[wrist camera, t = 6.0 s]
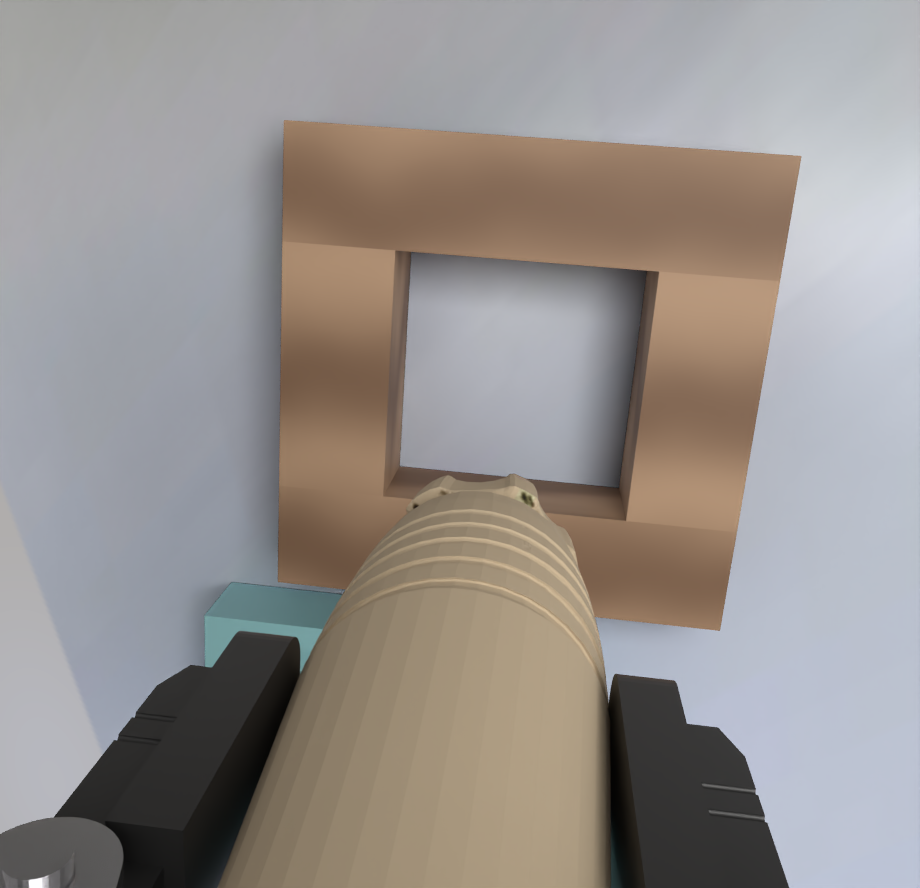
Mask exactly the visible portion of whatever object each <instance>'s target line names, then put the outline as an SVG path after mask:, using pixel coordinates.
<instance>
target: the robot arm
mask: <svg viewBox="0 0 920 888" xmlns="http://www.w3.org/2000/svg"><path fill="white" fill-rule="evenodd" d="M300 658H301V657H300V643H299V640H298V638H297V637H292V636H283V635H275V634H266V633H257V632H248V631H238V632H237V633H236V634H235V635H234V637H233V638H232V639H231V641H230V642H229V644H228V645H227V647H226V648H225V650H224V651H223V652H222V654H221V655H220V657H219V658H218V660H217V661H216V662H215V664H214V665H213V667H203V666H195V665H190V666H188V667H187V668H185V669H183V670H182V671H180V672H179V673H177V674H175V675H174V676H172V677H170V678H169V679H167V680H165V681H164V682H162V683H161V684H159V685H157V686H156V687H155V689H154V690H153V691H152V693H151V694H150V695H149V696H148V698H147V699H146V700H145V702H144V703H143V704H142V705H141V707H140V708H139V709H138V710H137V712H136V716H135V718H131V719H130V721H129V722H128V723H127V725H126V726H125V727H124V728H123V730H122V731H121V732H120V733H119V737H118V740H117V741H116V740H114V741H113V742H112V744H111V745H110V746H109V747H108V749H107V750H106V751H105V753H104V754H103V755H102V756H101V758H100V759H99V760H98V762H97V763H96V764H95V766H94V767H93V768H92V769H91V771H90V772H89V773H88V774H87V776H86V777H85V778H84V779H83V781H82V782H81V783H80V785H79V786H78V787H77V789H76V790H75V791H74V792H73V794H72V795H71V796H70V797H69V799H68V800H67V801H66V803H65V804H64V805H63V806H62V808H61V809H60V810H59V811H58V813H57V814H56V815H55V817H54V818H46V819H42V820H37V821H32V822H29V823H26V824H23V825H20V826H17V827H15V828H12V829H10V830H8V831H5V832H3V833H2V834H0V888H217V887H218V885H219V882H220V880H221V877H222V874H223V872H224V869H225V867H226V864H227V861H228V859H229V856H230V854H231V851H232V849H233V846H234V843H235V841H236V838H237V836H238V833H239V830H240V828H241V825H242V823H243V820H244V817H245V815H246V812H247V810H248V807H249V804H250V802H251V799H252V797H253V794H254V792H255V789H256V786H257V784H258V781H259V779H260V776H261V773H262V771H263V768H264V766H265V763H266V760H267V758H268V755H269V753H270V750H271V748H272V745H273V742H274V740H275V737H276V735H277V732H278V729H279V727H280V724H281V722H282V719H283V716H284V714H285V711H286V709H287V706H288V703H289V701H290V698H291V696H292V693H293V691H294V688H295V685H296V683H297V680H298V678H299V676H300ZM608 712H609V717H610V754H611V888H789V886H788V883H787V880H786V877H785V874H784V871H783V868H782V865H781V862H780V859H779V856H778V853H777V850H776V848H775V845H774V842H773V839H772V836H771V833H770V830H769V827H768V824H767V823H766V822H765V820H764V818H765V815H764V812H763V809H762V806H761V803H760V800H759V797H758V795H756V794H755V790H756V788H755V785H754V782H753V779H752V776H751V773H750V770H749V767H748V764H747V762H746V759H745V756H744V755H743V754H742V753H741V752H740V751H739V750H738V749H737V748H736V747H735V745H734V744H733V743H732V742H731V741H730V740H729V739H728V738H727V737H726V736H725V735H724V734H723V732H722V731H721V730H720V729H719V728H717V727H709V726H700V725H692V724H687V723H686V719H685V715H684V711H683V707H682V703H681V699H680V695H679V691H678V687H677V684H676V682H675V681H673V680H664V679H655V678H647V677H638V676H629V675H620V674H615V675H614V677H613V681H612V685H611V691H610V698H609V707H608Z"/></svg>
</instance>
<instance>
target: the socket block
mask: <svg viewBox="0 0 920 888" xmlns="http://www.w3.org/2000/svg"><path fill="white" fill-rule="evenodd" d="M800 161H801V156H793V155H778V154H764V153H750V152H735V151H721V150H706V149H692V148H678V147H663V146H649V145H634V144H620V143H606V142H591V141H577V140H562V139H548V138H534V137H519V136H505V135H490V134H476V133H462V132H447V131H433V130H418V129H404V128H390V127H375V126H361V125H346V124H332V123H318V122H303V121H289V120H284V149H283V226H282V302H281V379H280V455H279V532H278V582H283V583H292V584H301V585H310V586H319V587H328V588H337V589H347V587H348V586H349V584H350V583H351V581H352V580H353V578H354V577H355V575H356V574H357V572H358V571H359V569H360V568H361V566H362V565H363V563H364V562H365V560H366V559H367V557H368V556H369V554H370V553H371V552H372V551H373V549H374V548H375V547H376V546H377V544H378V543H379V542H380V541H381V539H382V538H383V537H384V536H385V535H386V534H387V533H388V532H389V531H390V530H391V529H392V528H393V527H394V526H395V525H396V524H397V523H398V522H399V521H400V520H401V519H402V518H403V517H404V516H405V515H407V511H406V508H407V506H408V505H409V504H410V502H411V501H412V500H413V498H414V497H415V496H416V494H417V493H418V492H419V491H420V490H422V489H423V488H424V487H425V486H427V485H428V484H429V483H431V482H432V481H434V480H436V479H438V478H440V477H443V476H447V475H449V476H452V477H453V478H454V479H456V480H460V481H465V482H488V481H495V480H498V479H502V478H505V477H502V476H492V475H481V474H471V473H461V472H451V471H441V470H431V469H421V468H411V467H401V466H400V450H401V431H402V412H403V394H404V375H405V357H406V338H407V319H408V301H409V282H410V264H411V252H421V253H433V254H446V255H458V256H471V257H483V258H496V259H508V260H521V261H533V262H546V263H558V264H571V265H583V266H596V267H608V268H621V269H633V270H646V271H647V274H646V282H645V290H644V298H643V305H642V313H641V321H640V329H639V336H638V344H637V352H636V360H635V367H634V375H633V383H632V391H631V398H630V406H629V414H628V422H627V429H626V437H625V445H624V453H623V460H622V468H621V476H620V484H619V488H613V487H603V486H593V485H582V484H572V483H562V482H552V481H542V480H532V479H526V480H528V481H529V482H531V483H533V485H534V486H535V488H536V491H537V494H538V501H539V503H540V505H541V508H542V509H543V511H544V512H545V514H546V515H547V516H548V517H549V519H550V520H551V521H552V522H554V523H555V524H556V525H557V526H560V527H562V528H564V529H565V530H566V531H567V533H568V534H569V536H570V538H571V540H572V543H573V546H574V549H575V553H576V558H577V562H578V568H579V571H580V573H581V576H582V579H583V581H584V584H585V586H586V589H587V591H588V594H589V598H590V601H591V605H592V609H593V612H594V617H600V618H609V619H618V620H627V621H637V622H646V623H655V624H664V625H673V626H682V627H691V628H700V629H709V630H718V631H720V627H721V621H722V615H723V609H724V604H725V598H726V592H727V586H728V580H729V574H730V569H731V563H732V557H733V551H734V545H735V540H736V534H737V528H738V522H739V516H740V510H741V505H742V499H743V493H744V487H745V481H746V476H747V470H748V464H749V458H750V452H751V446H752V441H753V435H754V429H755V423H756V417H757V412H758V406H759V400H760V394H761V388H762V382H763V377H764V371H765V365H766V359H767V353H768V348H769V342H770V336H771V330H772V324H773V318H774V313H775V307H776V301H777V295H778V289H779V284H780V278H781V272H782V266H783V260H784V254H785V249H786V243H787V237H788V231H789V225H790V220H791V214H792V208H793V202H794V196H795V190H796V185H797V179H798V173H799V167H800Z"/></svg>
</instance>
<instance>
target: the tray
mask: <svg viewBox="0 0 920 888" xmlns="http://www.w3.org/2000/svg"><path fill="white" fill-rule="evenodd" d="M342 595H343V594H334V593H325V592H316V591H307V590H298V589H289V588H280V587H271V586H262V585H253V584H243V583H234V582H231V584H230V585H229V586H228V587H227V589H226V590H225V591H224V592H223V593H222V595H221V596H220V597H219V598H218V600H217V601H216V602H215V603H214V604H213V606H212V607H211V608H210V609H209V611H208V612H207V613H206V614H205V615H204V626H205V667H213V665H214V664H215V662H216V661H217V660H218V658H219V657H220V655H221V654H222V652H223V651H224V650H225V648H226V647H227V645H228V644H229V642H230V641H231V639H232V638H233V637H234V635H235V634H236V633H237V632H238V631H248V632H257V633H266V634H275V635H283V636H292V637H297V638H298V640H299V643H300V657H301V658H300V674H301V671H302V669H303V667H304V665H305V662H306V661H307V659H308V657H309V655H310V653H311V651H312V649H313V647H314V645H315V643H316V641H317V639H318V637H319V635H320V634H321V632H322V630H323V628H324V626H325V624H326V622H327V620H328V618H329V616H330V615H331V613H332V611H333V610H334V608H335V606H336V604H337V602H338V601H339V599H340V598H341V596H342Z"/></svg>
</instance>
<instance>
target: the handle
mask: <svg viewBox="0 0 920 888" xmlns="http://www.w3.org/2000/svg"><path fill="white" fill-rule="evenodd" d="M406 511H407V515H405V516H404V517H403V518H402V519H401V520H400V521H399V522H398V523H397V524H396V525H395V526H394V527H393V528H392V529H391V530H390V531H389V532H388V533H387V534H386V535H385V536H384V537H383V538H382V539H381V541H380V542H379V543H378V544H377V546H376V547H375V548H374V549H373V551H372V552H371V553H370V554H369V556H368V557H367V559H366V560H365V562H364V563H363V565H362V566H361V568H360V569H359V571H358V572H357V574H356V575H355V577H354V578H353V580H352V581H351V583H350V584H349V586H348V587H347V589H346V590H345V592H344V593H343V595H342V596H341V598H340V599H339V601H338V602H337V604H336V606H335V608H334V610H333V611H332V613H331V615H330V616H329V618H328V620H327V622H326V624H325V626H324V628H323V630H322V632H321V634H320V635H319V637H318V639H317V641H316V643H315V645H314V647H313V649H312V651H311V653H310V655H309V657H308V659H307V661H306V662H305V665H304V667H303V669H302V671H301V674H300V676H299V678H298V680H297V683H296V685H295V688H294V691H293V693H292V696H291V698H290V701H289V703H288V706H287V709H286V711H285V714H284V716H283V719H282V722H281V724H280V727H279V729H278V732H277V735H276V737H275V740H274V742H273V745H272V748H271V750H270V753H269V755H268V758H267V760H266V763H265V766H264V768H263V771H262V773H261V776H260V779H259V781H258V784H257V786H256V789H255V792H254V794H253V797H252V799H251V802H250V804H249V807H248V810H247V812H246V815H245V817H244V820H243V823H242V825H241V828H240V830H239V833H238V836H237V838H236V841H235V843H234V846H233V849H232V851H231V854H230V856H229V859H228V861H227V864H226V867H225V869H224V872H223V874H222V877H221V880H220V882H219V885H218V887H217V888H611V754H610V717H609V712H608V707H609V702H608V692H607V685H606V675H605V667H604V660H603V655H602V648H601V643H600V638H599V633H598V629H597V624H596V620H595V617H594V612H593V609H592V605H591V601H590V598H589V594H588V591H587V589H586V586H585V584H584V581H583V579H582V576H581V573H580V571H579V568H578V562H577V558H576V553H575V549H574V546H573V543H572V540H571V538H570V536H569V534H568V533H567V531H566V530H565V529H564V528H562V527H560V526H557V525H556V524H555V523H554V522H552V521H551V520H550V519H549V517H548V516H547V515H546V514H545V512H544V511H543V509H542V508H541V505H540V503H539V501H538V494H537V491H536V488H535V486H534V485H533V483H531V482H529V481H528V480H526V479H525V478H523V477H520V476H518V475H516V474H510V475H508V476H507V477H505V478H502V479H498V480H495V481H488V482H465V481H460V480H456V479H454V478H453V477H452V476H449V475H447V476H443V477H440V478H438V479H436V480H434V481H432V482H431V483H429V484H428V485H427V486H425V487H424V488H423V489H422V490H420V491H419V492H418V493H417V494H416V496H415V497H414V498H413V500H412V501H411V502H410V504H409V505H408V506H407V508H406Z"/></svg>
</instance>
